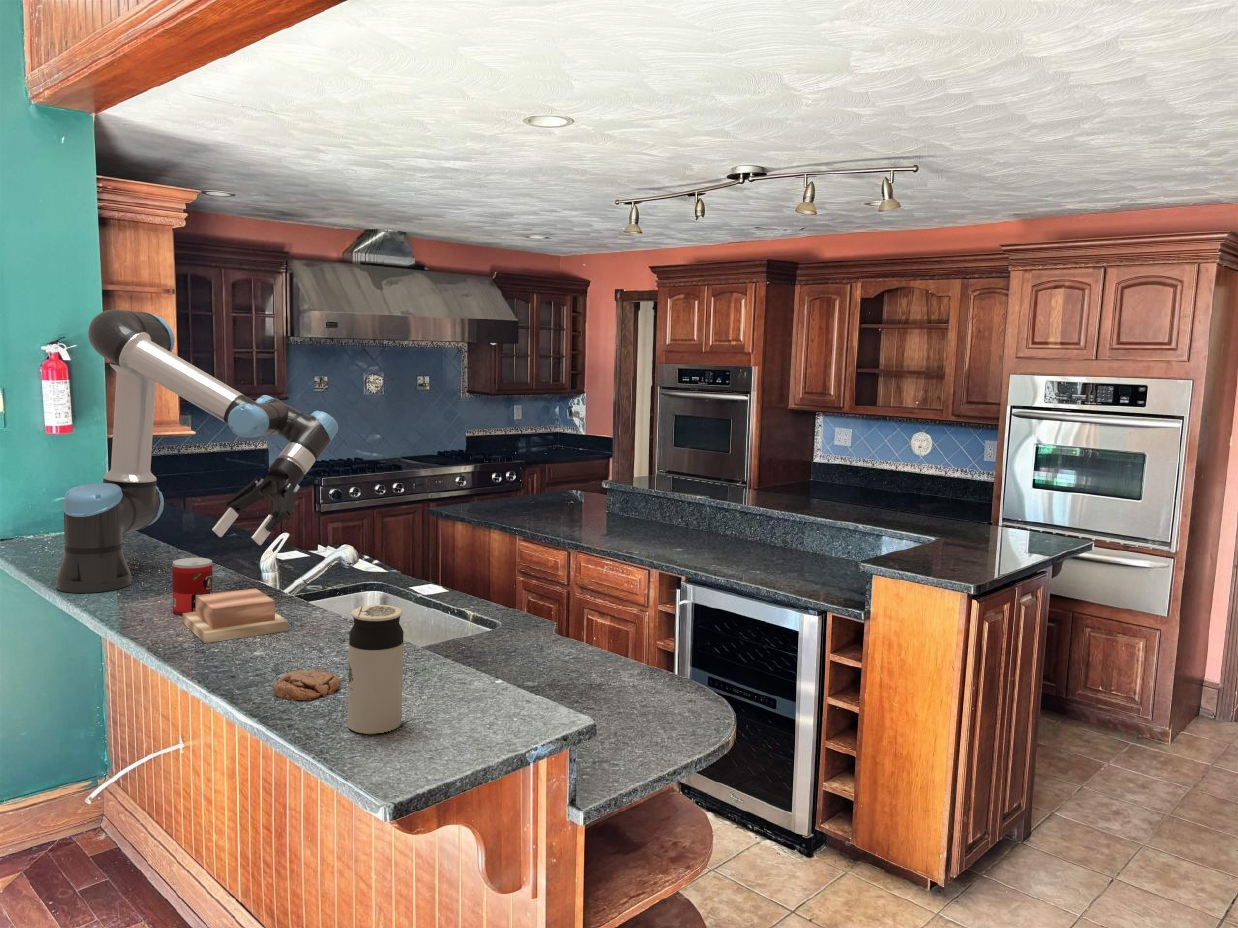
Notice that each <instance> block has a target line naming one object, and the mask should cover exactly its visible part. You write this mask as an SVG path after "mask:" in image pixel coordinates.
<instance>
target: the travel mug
mask: <svg viewBox="0 0 1238 928" xmlns="http://www.w3.org/2000/svg"><path fill="white" fill-rule="evenodd" d="M350 613H351V614H350V615H351V616H352V618H353V625H352V627H351V629H350V631H349V634H348V635H349V636H348V641H349V642H348V644H349V645H348V685H347V686H348V693H347V695H348V697H347V727H348V728H349V729H350V730H351V731H353V732H356V733H358V734H362V733H363V734H364V735H377V734H376V733H382V734H385V733H384V732H386V733H389V732H392V731H393V730H396V729H397V728H399V727H400V726H401V725H402V718H403V717H402V716H403V713H402V712H403V711H402V709H403V677H404V676H403V675H404V674H403V672H404V671H403V670H404V669H403V667H404V665H403V664H404V661H403V660H404V633H405V632H404V629H403V627H402V625H401V623H400V620H401V616H402V615H403V610H402V609H401V608H399V607H397V606H392V605H387V604H386V605H385V604H375V605H374V604H373V605H371V604H370V605H363V606H359V607H357V608H354V609H353V610H352V611H351V612H350ZM391 730H392V731H391ZM388 731H389V732H388Z"/></svg>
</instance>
